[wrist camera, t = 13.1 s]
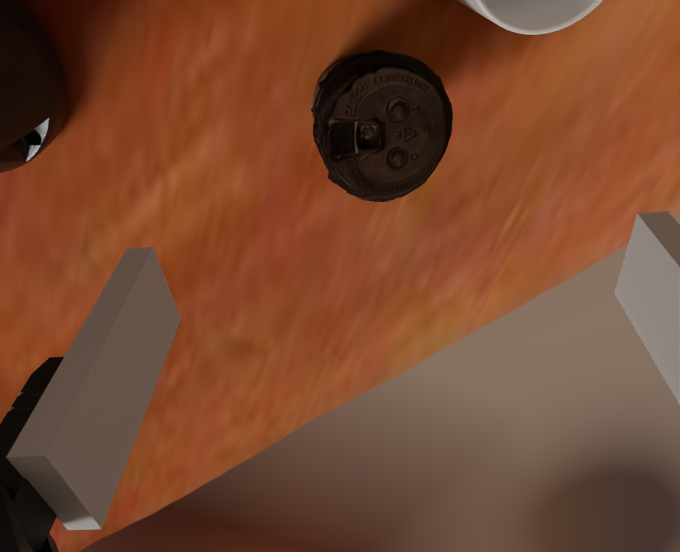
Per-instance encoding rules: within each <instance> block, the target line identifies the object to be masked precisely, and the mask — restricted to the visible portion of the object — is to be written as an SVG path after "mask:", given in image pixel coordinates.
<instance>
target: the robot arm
mask: <svg viewBox="0 0 680 552" xmlns="http://www.w3.org/2000/svg"><path fill="white" fill-rule="evenodd" d="M66 106H67V92H66V84H65V79H64V74H63V71H62V67H61V64H60V62H59V59H58V56H57V54H56V52H55V50H54V48H53V46H52V44H51V42H50V40H49V38H48V37H47V35H46V33H45V32H44V30H43V29H42V27H41V26H40V24H39V23H38V22H37V20H36V19H35V18H34V16H33V15H32V14H31V13H30V11H29V10H28V9H27V8H26V7H25V6H24V5H23V4H22V2H21V1H20V0H0V173H2V172H6V171H9V170H13V169H16V168H18V167H20V166H22V165H24V164H26V163H28V162H29V161H31V160H32V159H34V158H35V157H36V156H37V155H39V154H40V153H41V152H42V151H43V150H44V149H45V148H46V147H47V146H48V145H49V144H50V143H51V142H52V141H53V140H54V139H55V137H56V136H57V134H58V133H59V131H60V129H61V127H62V124H63V121H64V118H65V113H66ZM614 294H615V296H616V297H617V299H618V301H619V302H620V304H621V306H622V308H623V309H624V311H625V313H626V314H627V316H628V318H629V319H630V321H631V323H632V325H633V326H634V328H635V330H636V331H637V333H638V335H639V336H640V338H641V340H642V341H643V343H644V345H645V347H646V348H647V350H648V352H649V353H650V355H651V356H652V358H653V360H654V362H655V363H656V365H657V367H658V369H659V370H660V372H661V373H662V375H663V377H664V379H665V380H666V382H667V384H668V385H669V387H670V389H671V390H672V392H673V394H674V396H675V397H676V399H677V401H678V402H679V404H680V225H679V224H678V223H677V221H676V220H675V219H674V218H673V217H672V216H671V215H670V213H669V212H668V211H666V212H652V213H637V216H636V220H635V223H634V227H633V230H632V234H631V237H630V240H629V244H628V248H627V251H626V255H625V258H624V261H623V265H622V268H621V272H620V275H619V278H618V282H617V285H616V289H615V292H614ZM180 320H181V318H180V315H179V313H178V310H177V308H176V305H175V302H174V300H173V297H172V295H171V292H170V289H169V287H168V284H167V282H166V279H165V276H164V274H163V271H162V269H161V266H160V263H159V261H158V258H157V256H156V253H155V250H154V248H153V247H147V248H133V249H127V250H126V251H125V253H124V255H123V257H122V258H121V260H120V262H119V264H118V265H117V267H116V269H115V270H114V272H113V274H112V276H111V277H110V279H109V281H108V283H107V284H106V286H105V288H104V289H103V291H102V293H101V295H100V296H99V298H98V300H97V302H96V303H95V305H94V307H93V308H92V310H91V312H90V314H89V315H88V317H87V319H86V321H85V322H84V324H83V326H82V327H81V329H80V331H79V333H78V334H77V336H76V338H75V339H74V341H73V343H72V345H71V346H70V348H69V350H68V352H67V353H66V355H65V357H51V358H49V359H48V360H46V361H45V362H44V363H43V364H42V365H41V366H40V367H39V368H38V369H37V370H36V371H34V372H33V373H32V374H31V376H30V377H29V379H28V381H27V382H26V384H25V385H24V387H23V389H22V390H21V392H20V396H18V397H17V398H16V400H15V402H14V403H13V405H12V406H11V411H8V413H7V414H6V416H5V418H4V419H3V421H2V422H1V424H0V552H58V549H57V546H56V543H55V541H54V539H53V538H52V537H51V535H50V534H49V532H50V530H51V527H52V525H53V523H54V521H55V519H56V517H57V518H58V519H59V520H60V521H61V523H62V524H63V525H64V526H65V527H66V529H67V530H89V529H102V527H103V524H104V522H105V519H106V516H107V514H108V511H109V509H110V506H111V503H112V501H113V498H114V495H115V493H116V490H117V487H118V485H119V482H120V479H121V477H122V474H123V471H124V469H125V466H126V463H127V461H128V458H129V455H130V453H131V450H132V447H133V445H134V442H135V439H136V437H137V434H138V431H139V429H140V426H141V423H142V421H143V418H144V415H145V413H146V410H147V407H148V405H149V402H150V399H151V397H152V394H153V391H154V389H155V386H156V383H157V381H158V378H159V376H160V373H161V370H162V368H163V365H164V362H165V360H166V357H167V354H168V352H169V349H170V346H171V344H172V341H173V338H174V336H175V333H176V330H177V328H178V325H179V322H180Z"/></svg>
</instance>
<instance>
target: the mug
mask: <svg viewBox="0 0 680 552" xmlns="http://www.w3.org/2000/svg"><path fill="white" fill-rule="evenodd" d="M458 1H459V2H461V3H462V4H464V5H466V6H467V7H469V8H471V9H472V10H474V11H475V12H477V13H479V14H480V15H482V16H484V17H485V18H487V19H489V20H490V21H492V22H494V23H495V24H497V25H499V26H500V27H502V28H505V29H507V30H509V31H512V32H515V33H520V34H527V35H539V34H546V33H551V32H554V31H558V30H561V29H563V28H565V27H568V26H570V25H572V24H573V23H575V22H577V21H579V20H580V19H582V18H583V17H585V16H586V15H587V14H589V13H590V12H591V11H592V10H594V9H595V8H596V7H597V6H598V5H599V4H600V3H601V2H602V1H603V0H458Z"/></svg>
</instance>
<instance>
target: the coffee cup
mask: <svg viewBox="0 0 680 552" xmlns="http://www.w3.org/2000/svg"><path fill="white" fill-rule="evenodd" d="M311 110H312V115H313V136H314V141H315V143H316V145H317V148H318V150H319V153H320V155H321V157H322V159H323V161H324V164H325V166H326V167H327V169H328V171H329V173H328V179H330V180H331V181H332V182H333V183H335V184H337V185H339V186H340V187H341V188H343V189H344V190H346V191H347V193H348V194H351V195H353V196H356V197H357V198H360V199H362V200H366V201H367V200H368V201H374V202H386V201H390V200H394V199H396V198H400V197H403V196H405V195H407V194H409V193H410V192H412V191H413V190H415V189H417V188H418V187H420V186H422V185H423V184H424V183H425V182H426V180H427V179H428V178H429V177H430V175H431V174H432V173H433V171H434V170H435V169H436V167H437V165H438V164H439V162H440V160H441V159H442V157H443V155H444V153H445V151H446V148H447V146H448V142H449V139H450V137H451V132H452V120H453V112H452V105H451V102H450V100H449V98H448V96H447V94H446V92H445V90H444V86H443V84H442V81H441V79H440V77H439V76H437V75H436V74H435V73H434V72H433V71H432V70H431V69H430V68H429V67H428V66H427V65H426V64H424V63H423V62H422V61H420V60H417V59H415V58H413V57H410V56H407V55H404V54H400V53H393V52H387V51H383V50H375V51H368V52H361V53H358V54H356V55H351V56H349V57H346V58H343V59H340V60H338V61H337V62H335V63H333V64H332V65H331V66H329V67H328V68H327V69H326V70H325V71H324V72H323V73H322V74H321V76H320V78H319V79H318V81H317V84H316V87H315V91H314V96H313V105H312V109H311Z"/></svg>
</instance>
